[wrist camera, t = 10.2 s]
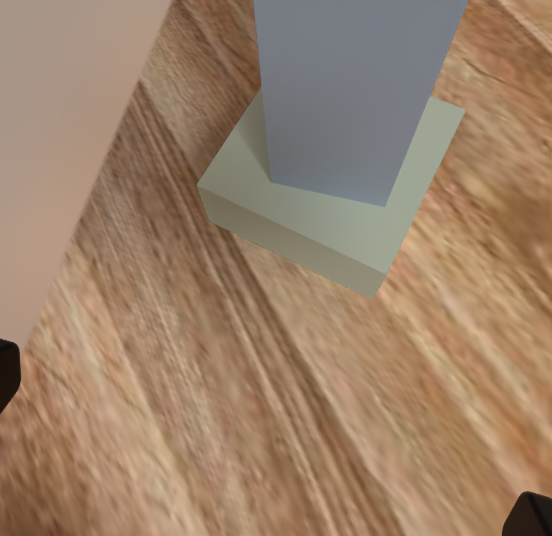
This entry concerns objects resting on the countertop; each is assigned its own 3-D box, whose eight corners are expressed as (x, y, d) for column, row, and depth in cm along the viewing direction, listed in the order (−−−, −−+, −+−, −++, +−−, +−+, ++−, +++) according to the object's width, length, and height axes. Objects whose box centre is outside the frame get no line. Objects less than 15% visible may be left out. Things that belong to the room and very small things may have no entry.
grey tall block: (385, 207, 21) (502, -85, 9) (271, 182, 21) (240, -124, 10) (405, 109, 22) (530, -253, 10) (298, 89, 23) (301, -278, 11)
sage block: (371, 302, 24) (386, 274, 20) (210, 224, 25) (196, 185, 21) (440, 158, 26) (466, 109, 22) (290, 96, 28) (291, 41, 24)
